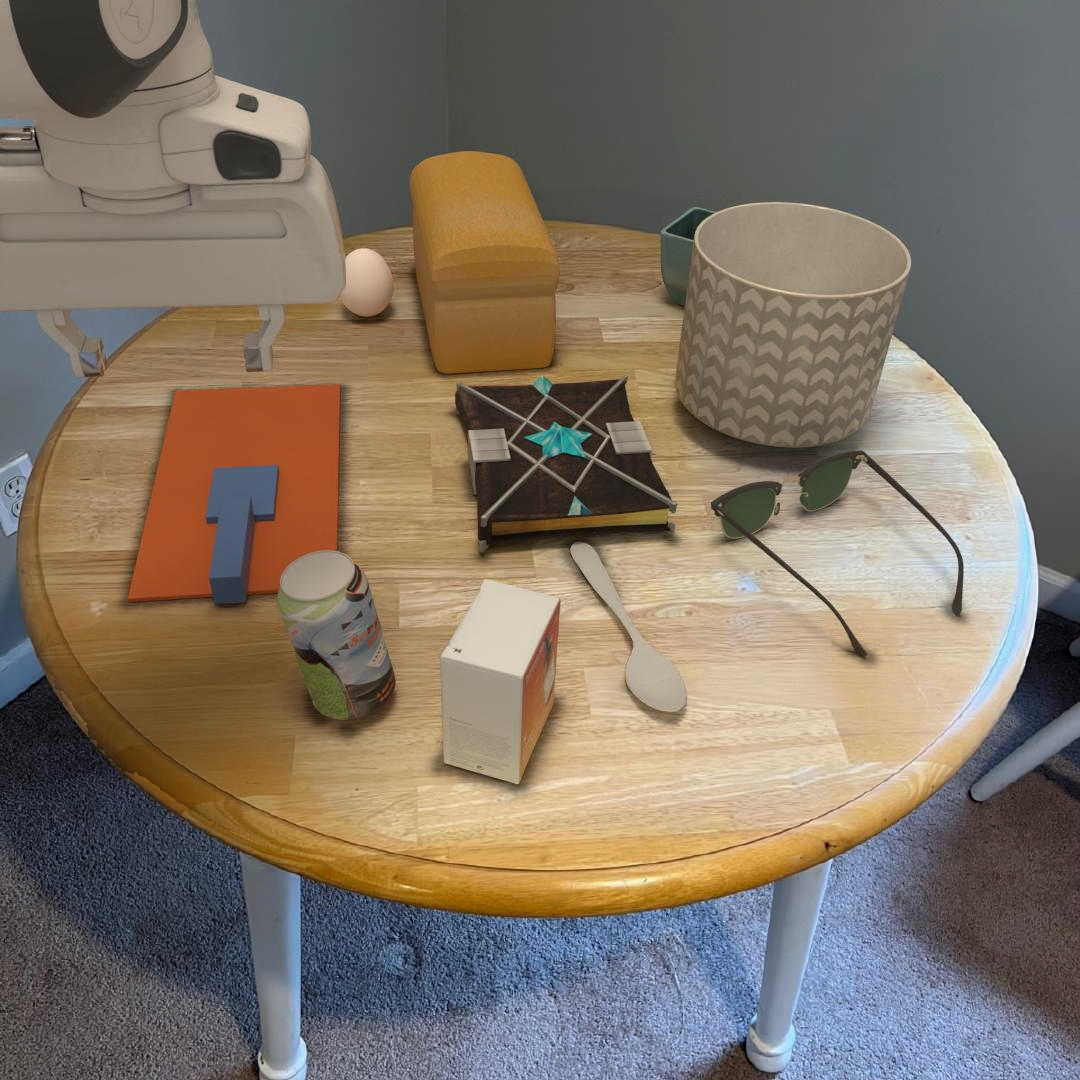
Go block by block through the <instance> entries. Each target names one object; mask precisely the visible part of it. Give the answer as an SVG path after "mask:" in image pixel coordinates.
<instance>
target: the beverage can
mask: <svg viewBox="0 0 1080 1080" xmlns="http://www.w3.org/2000/svg"><path fill="white" fill-rule="evenodd" d="M276 602H277V608H278V610H279V613H280V616H281V619H282V621H283V624H284V627H285V630H286V632H287V635H288V637H289V640H290V643H291V647H292V649H293V652H294V654H295V657H296V660H297V663H298V665H299V669H300V671H301V674H302V676H303V677H302V678H303V679H304V683H305V685H306V688H307V691H308V695H309V696H310V699H311V701H312V704H313V706H314V708H315V709H316V711H318V712H319V713H320V714H321V715H322V716H325V717H327V718H330V719H333V720H340V721H343V720H344V721H345V720H347V721H349V720H355V719H359V718H362V717H363V718H364V717H365V716H367V715H371V714H372V713H373V712H376V711H377V710H379V709H380V708H381V707H382V706H384V705H385V704H386V703H387V702H388V700H389V699H390V698H391V696H393V695H392V694H393V692H394V691H395V687H396V675H395V671H394V668H393V664H392V660H391V657H390V654H389V650H388V646H387V643H386V640H385V636H384V632H383V629H382V626H381V622H380V619H379V614H378V612H377V608H376V604H375V601H374V598H373V594H372V590H371V587H370V583H369V580H368V577H367V575H366V573H365V571H364V570H363V569H362V567H360V566H359V565H358V564H357V563H355V562H354V560H353V559H352V558H351V557H350V556H349V555H348V554H346V553H344V552H341V551H339V550H337V551H331V550H325V551H317V552H313V553H309V554H307V555H304V556H302V557H300V558H298V559H297V560H295V561H293V562H292V563H291V564H290V565H289V566H288V567H287V568H286V569H285V570H284V572H283V573H282V576H281V579H280V588H279V590H278V593H277V596H276Z"/></svg>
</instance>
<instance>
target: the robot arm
mask: <svg viewBox="0 0 1080 1080" xmlns="http://www.w3.org/2000/svg"><path fill="white" fill-rule="evenodd" d="M0 118H3V119H4V118H5V119H15V120H16V119H17V120H31V121H33V125H34V126H33V125H32V126H31V125H26V126H25V125H24V126H0V312H33V311H35V314H36V318H37V320H38V324H39V327H40V329H41V330H42V331H43V332H45V334H47V336H49V337H50V338H51V339H52V340H53V341H54V342H55V343H56V344H57V345H58V346H59V347H60V348H61V349H62V350H63V351H64V352H65V353H68V355H69V360H70V363H71V368H72V371H73V374H74V377H75V378H80V379H81V378H102V377H104V376H105V371H106V370H107V364H108V362H107V361H108V360H107V356H106V353H105V352H104V351H103V350H104V344H103V339H102V336H87V335H85V333H84V332H83V330H81V328H80V327H79V326H78V325H77V324H76V323H75V322H74V320H72V318H71V317H70V316H71V313H72V311H75V310H76V311H77V310H78V311H79V310H81V311H82V310H115V309H116V310H117V309H119V310H120V309H122V310H123V309H156V308H159V309H161V308H162V309H163V308H192V307H193V308H197V307H199V308H201V307H241V306H257V310H258V319H259V320H260V321H263V323H262V325H261V327H260V329H259V331H258V332H245V333H244V336H243V337H244V339H243V343H242V351H243V352H242V353H243V359H244V360H245V363H244V367H245V372H246V373H259V372H262V373H263V372H273V369H274V350H273V345H274V344H273V343H274V342H275V340H276V338H277V336H278V334H279V333H280V331H281V329H282V327H283V324H284V323H285V321H286V314H287V305H326V304H327V305H329V304H332V303H334V302H335V301H336V300H337V299H338V298H339V297H340V296H339V295H340V294H341V292H342V291H343V290H344V288H345V286H346V262H345V258H346V253H345V252H346V251H345V243H344V238H343V237H344V236H343V231H342V225H341V221H340V215H339V211H338V206H337V202H336V198H335V195H334V190H333V187H332V183H331V181H330V178H329V176H328V174H327V172H326V170H325V168H324V167H323V165H322V164H321V163H320V161H319V160H318V159H317V158H316V157H315V156H313V155H312V154H311V151H312V130H311V129H312V128H311V123H310V119H309V115H308V113H307V110H306V108H305V107H304V105H302V104H301V103H299V102H298V101H296V100H293V99H290V98H288V97H284V96H281V95H278V94H274V93H272V92H268V91H264V90H261V89H259V88H255V87H252V86H249V85H245V84H243V83H239V82H236V81H233V80H230V79H227V78H225V77H221V76H219V75H216V73H215V67H214V58H213V53H212V49H211V46H210V44H209V41H208V39H207V37H206V35H205V33H204V30H203V27H202V24H201V21H200V16H199V10H198V4H197V0H0Z"/></svg>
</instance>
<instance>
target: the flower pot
mask: <svg viewBox="0 0 1080 1080" xmlns="http://www.w3.org/2000/svg"><path fill="white" fill-rule="evenodd" d="M716 212H717V211H714V210H709V209H706V208H703V207H698V206H693V207H691V208H689V209H688V210H687V211H685V212H684V213H682V215H681V216H679V217H678V218H677V219H675V220H674V221H672V222H670V223H669V224H668V225H666V226H665V227H664V228H663V229H661V231H660V274H661V278H662V282H663V285H664V288H665V290H666V292H667V294H668V296H669V298H670V299H671V301H672V302H673V303H674V304H678V305H681V306H683V307H685V301H686V294H687V287H688V279H689V272H690V265H691V257H692V250H693V242H694V235H695V232H696V229H697V227H698V226H699V225H700V223H701V222H702V221H703V220H705V219H706V218H707V217H709V216H711V215H712V214H714V213H716Z"/></svg>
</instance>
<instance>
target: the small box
mask: <svg viewBox="0 0 1080 1080" xmlns="http://www.w3.org/2000/svg"><path fill="white" fill-rule="evenodd" d="M561 604H562V603H561V598H560V597H557V596H554V595H550V594H547V593H543V592H539V591H534V590H530V589H527V588H523V587H519V586H515V585H512V584H507V583H504V582H500V581H496V580H493V579H488V578H485V579H483V580H482V582H481V584H480V585H479V588H478V590H477V592H476V594H475V596H474V598H473V600H472V602H471V603H470V605H469V606H468V609H467V610H466V612H465V614H464V616H463V618H462V619H461V621H460V623H459V624H458V626H457V628H456V629H455V631H454V634H453V635H452V636H451V637H450V640H449V641H448V643H447V644H446V645H445V647H444V649H443V650H442V651H441V653H440V655H439V669H440V692H441V693H440V700H441V727H442V730H441V731H442V752H443V753H442V755H443V756H442V757H443V763H444V764H446V765H449V766H453V767H456V768H460V769H464V770H467V771H471V772H474V773H478V774H482V775H485V776H488V777H491V778H495V779H498V780H502V781H505V782H509V783H511V784H512V783H513V784H515V785H519V784H520V783H521V781H522V779H523V776H524V773H525V770H526V769H527V766H528V763H529V761H530V759H531V756H532V754H533V751H534V749H535V747H536V745H537V743H538V740H539V738H540V736H541V733H542V732H543V729H544V727H545V725H546V722H547V720H548V718H549V716H550V714H551V711H552V709H553V706H554V703H555V686H556V672H557V657H558V645H559V644H558V643H559V630H560V629H559V628H560V615H561Z"/></svg>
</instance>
